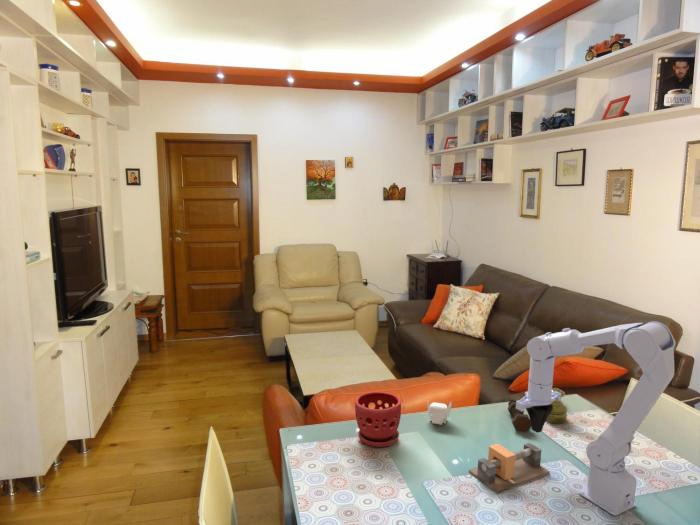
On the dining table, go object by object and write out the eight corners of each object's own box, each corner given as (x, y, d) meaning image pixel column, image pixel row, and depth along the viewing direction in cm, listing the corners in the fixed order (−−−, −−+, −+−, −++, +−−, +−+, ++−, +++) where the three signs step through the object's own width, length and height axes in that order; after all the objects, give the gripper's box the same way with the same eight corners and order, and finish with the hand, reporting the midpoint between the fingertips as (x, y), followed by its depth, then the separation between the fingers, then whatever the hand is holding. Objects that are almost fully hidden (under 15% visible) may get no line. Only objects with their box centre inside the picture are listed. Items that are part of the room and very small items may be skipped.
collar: (513, 476, 125) (515, 454, 124) (505, 480, 124) (506, 457, 123) (496, 464, 130) (497, 443, 129) (487, 467, 129) (488, 446, 128)
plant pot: (400, 429, 150) (401, 391, 148) (399, 452, 137) (401, 411, 135) (356, 426, 151) (357, 388, 149) (352, 449, 139) (353, 408, 137)
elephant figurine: (423, 427, 151) (424, 405, 150) (427, 413, 161) (428, 392, 159) (448, 431, 149) (450, 409, 148) (452, 417, 158) (453, 395, 157)
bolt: (514, 415, 165) (524, 436, 150) (501, 406, 165) (509, 427, 150) (525, 401, 164) (535, 421, 149) (511, 392, 164) (520, 412, 149)
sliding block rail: (549, 473, 128) (551, 455, 128) (497, 493, 120) (498, 474, 119) (519, 454, 137) (520, 437, 136) (468, 472, 129) (469, 454, 128)
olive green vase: (536, 415, 161) (538, 385, 159) (555, 412, 163) (558, 383, 161) (551, 426, 154) (554, 395, 152) (572, 422, 156) (574, 392, 154)
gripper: (547, 371, 136) (543, 418, 138) (508, 380, 129) (504, 430, 131) (569, 380, 130) (565, 429, 132) (530, 390, 123) (526, 442, 125)
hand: (536, 430), depth 131 cm, fingers closed
